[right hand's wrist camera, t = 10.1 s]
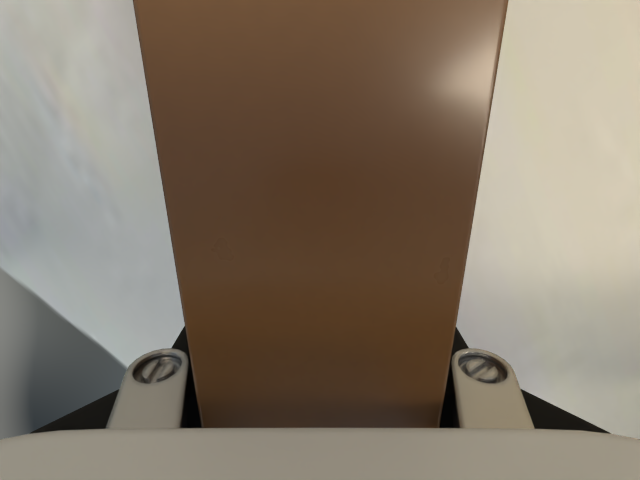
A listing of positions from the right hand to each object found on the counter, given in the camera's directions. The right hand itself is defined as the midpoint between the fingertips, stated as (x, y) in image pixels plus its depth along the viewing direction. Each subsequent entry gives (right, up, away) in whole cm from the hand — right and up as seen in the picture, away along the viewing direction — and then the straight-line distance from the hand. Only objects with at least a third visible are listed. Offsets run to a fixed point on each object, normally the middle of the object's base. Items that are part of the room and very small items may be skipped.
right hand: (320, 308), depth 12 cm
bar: (0, +23, -6) cm, 24 cm away
